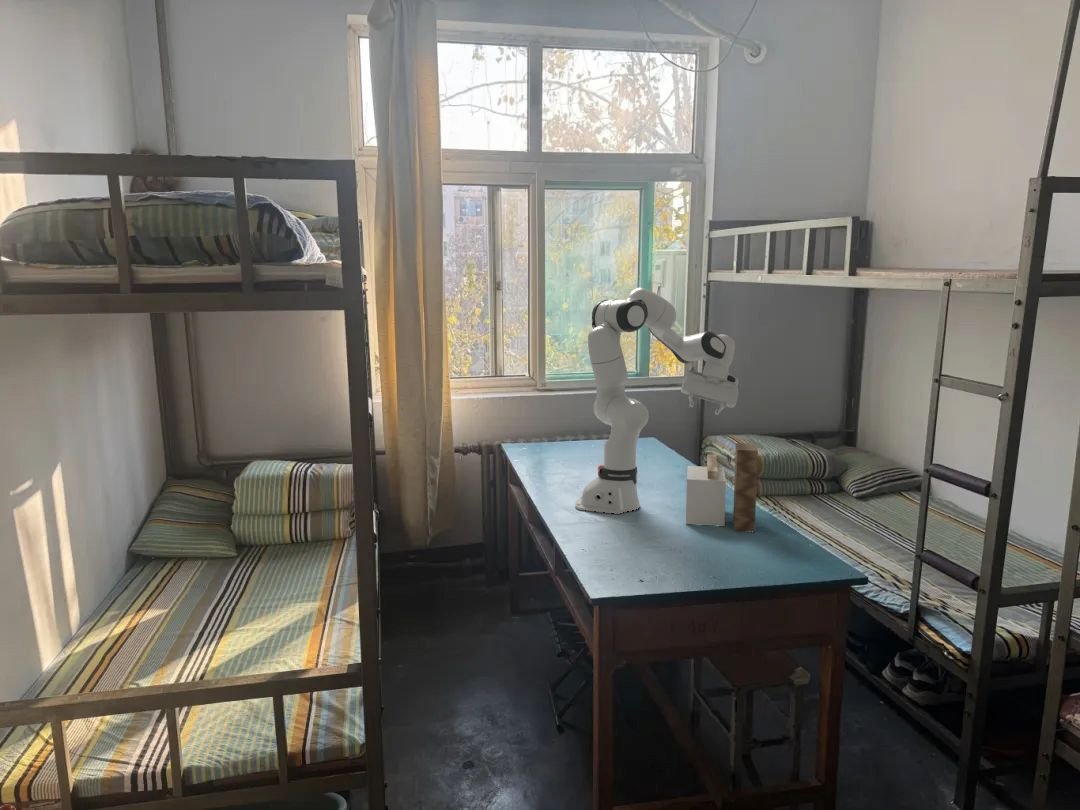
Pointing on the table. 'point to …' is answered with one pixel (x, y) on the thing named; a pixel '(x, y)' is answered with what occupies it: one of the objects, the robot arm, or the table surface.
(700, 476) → the white upright block
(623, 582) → the table surface
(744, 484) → the post
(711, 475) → the slat
